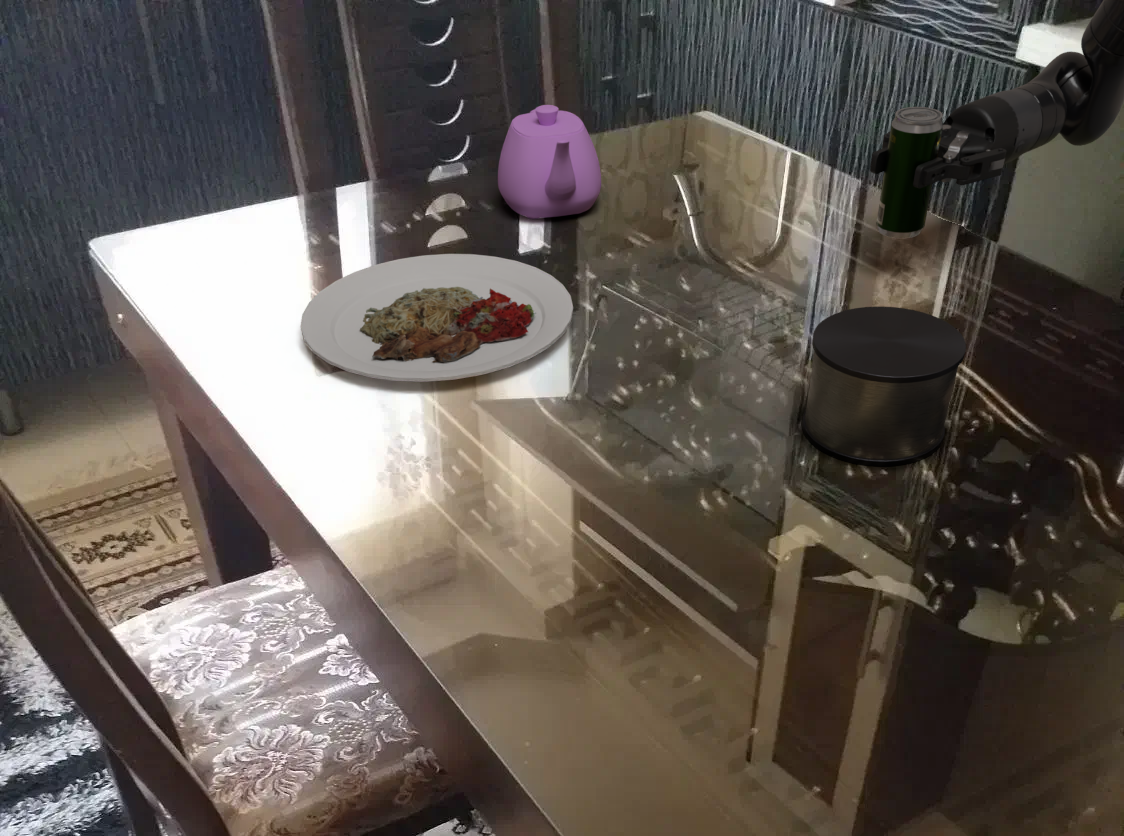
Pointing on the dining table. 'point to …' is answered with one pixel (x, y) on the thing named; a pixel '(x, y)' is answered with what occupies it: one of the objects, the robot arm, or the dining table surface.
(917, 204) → the beer can
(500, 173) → the teapot
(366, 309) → the plated food
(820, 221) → the dining table surface
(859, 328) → the steel bin
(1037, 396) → the dining table surface
